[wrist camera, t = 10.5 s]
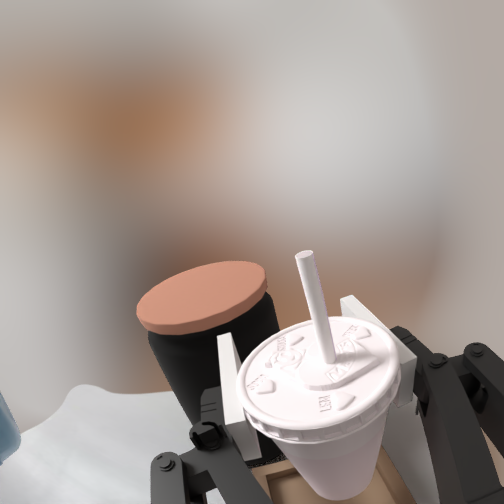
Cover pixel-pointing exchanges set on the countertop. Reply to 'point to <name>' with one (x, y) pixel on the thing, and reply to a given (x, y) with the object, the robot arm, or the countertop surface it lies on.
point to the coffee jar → (208, 329)
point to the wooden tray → (307, 500)
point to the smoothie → (323, 392)
